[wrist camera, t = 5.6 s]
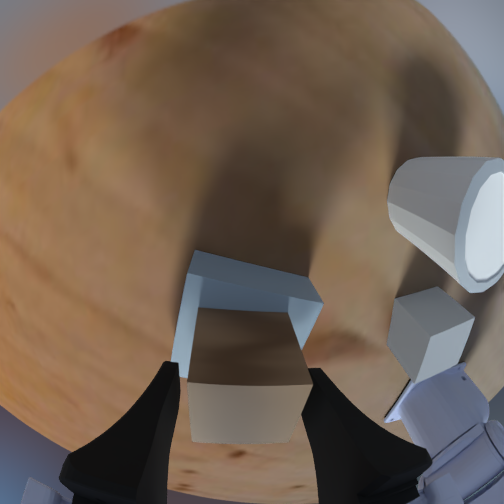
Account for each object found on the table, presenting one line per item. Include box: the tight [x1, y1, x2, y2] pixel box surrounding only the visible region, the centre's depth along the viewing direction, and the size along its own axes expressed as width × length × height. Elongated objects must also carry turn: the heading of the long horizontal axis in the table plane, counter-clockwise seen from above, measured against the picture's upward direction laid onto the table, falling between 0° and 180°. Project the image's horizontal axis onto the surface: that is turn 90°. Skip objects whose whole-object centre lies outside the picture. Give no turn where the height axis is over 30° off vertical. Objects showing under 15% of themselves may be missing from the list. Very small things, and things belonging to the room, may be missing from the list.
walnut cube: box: [187, 307, 313, 444], centre depth 12 cm, size 4×4×5 cm
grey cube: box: [387, 286, 475, 384], centre depth 16 cm, size 4×4×5 cm
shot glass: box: [387, 157, 504, 293], centre depth 12 cm, size 7×7×7 cm
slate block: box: [171, 250, 324, 378], centre depth 16 cm, size 7×7×4 cm
